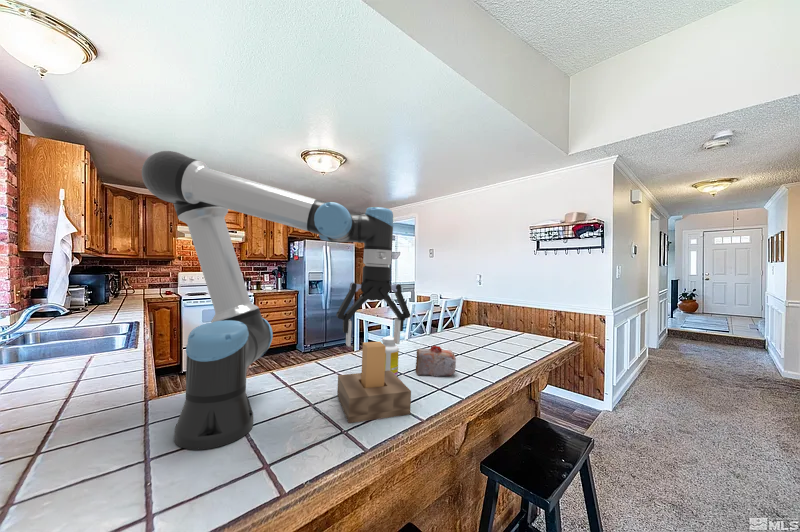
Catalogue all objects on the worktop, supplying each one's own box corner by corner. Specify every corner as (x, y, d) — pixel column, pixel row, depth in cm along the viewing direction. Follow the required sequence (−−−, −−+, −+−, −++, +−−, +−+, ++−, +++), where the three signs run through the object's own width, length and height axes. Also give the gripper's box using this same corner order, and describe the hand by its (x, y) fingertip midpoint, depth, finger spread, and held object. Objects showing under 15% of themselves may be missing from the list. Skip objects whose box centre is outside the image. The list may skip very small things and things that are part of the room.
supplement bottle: (398, 372, 112) (400, 336, 112) (396, 379, 105) (398, 341, 105) (379, 371, 113) (381, 335, 113) (376, 378, 106) (378, 340, 106)
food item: (451, 370, 117) (452, 343, 117) (456, 378, 109) (457, 349, 109) (414, 369, 117) (415, 342, 117) (416, 377, 109) (417, 348, 109)
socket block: (348, 423, 76) (349, 398, 76) (337, 395, 91) (338, 375, 91) (410, 414, 82) (411, 391, 82) (390, 389, 97) (390, 370, 97)
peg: (365, 404, 83) (367, 347, 83) (360, 396, 88) (362, 342, 88) (383, 402, 85) (385, 346, 85) (378, 394, 90) (380, 341, 89)
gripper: (332, 263, 78) (328, 350, 78) (424, 268, 87) (420, 345, 87) (328, 263, 85) (324, 342, 85) (413, 267, 94) (410, 338, 94)
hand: (372, 344), depth 86 cm, fingers open, 13 cm apart
